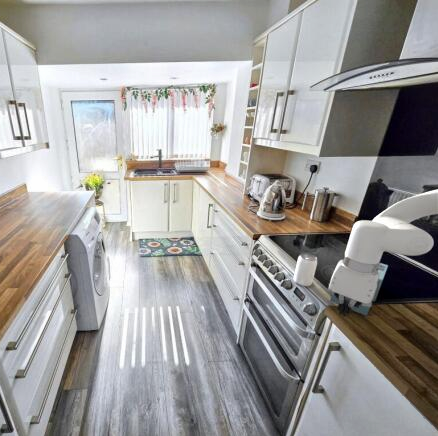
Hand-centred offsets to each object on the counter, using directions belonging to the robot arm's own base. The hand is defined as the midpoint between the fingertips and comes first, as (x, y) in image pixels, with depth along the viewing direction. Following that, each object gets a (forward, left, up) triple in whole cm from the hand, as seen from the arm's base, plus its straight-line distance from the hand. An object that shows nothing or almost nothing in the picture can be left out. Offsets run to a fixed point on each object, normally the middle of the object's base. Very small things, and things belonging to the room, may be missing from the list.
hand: (342, 313), depth 75 cm
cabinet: (-19, -22, -5) cm, 30 cm away
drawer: (-9, -11, -4) cm, 15 cm away
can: (+1, -23, -5) cm, 24 cm away
